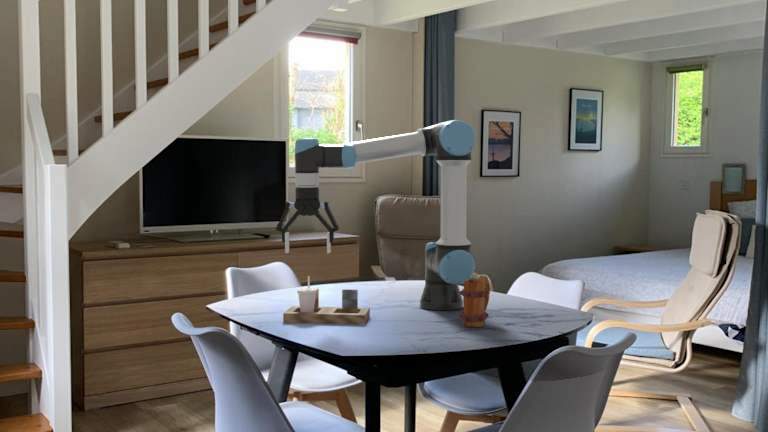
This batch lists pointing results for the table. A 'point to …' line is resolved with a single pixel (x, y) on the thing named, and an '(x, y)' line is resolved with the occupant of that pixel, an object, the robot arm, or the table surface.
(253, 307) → the table surface
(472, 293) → the mug
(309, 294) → the smoothie
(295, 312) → the socket board
